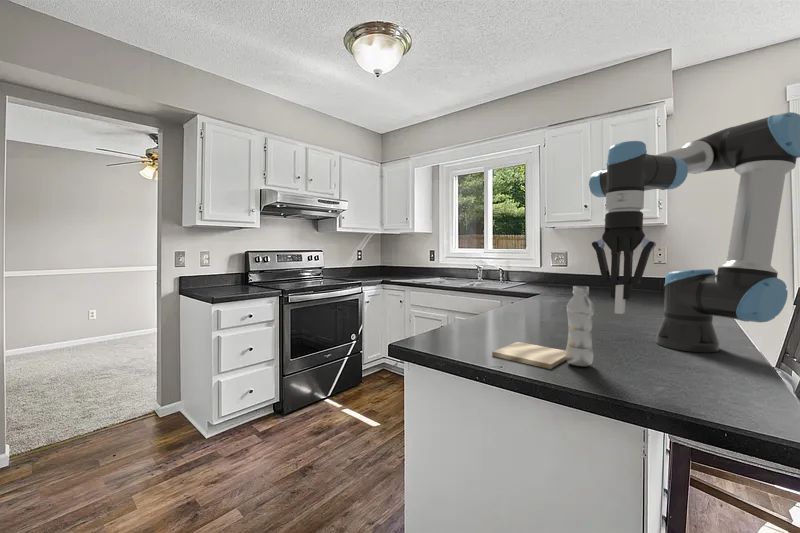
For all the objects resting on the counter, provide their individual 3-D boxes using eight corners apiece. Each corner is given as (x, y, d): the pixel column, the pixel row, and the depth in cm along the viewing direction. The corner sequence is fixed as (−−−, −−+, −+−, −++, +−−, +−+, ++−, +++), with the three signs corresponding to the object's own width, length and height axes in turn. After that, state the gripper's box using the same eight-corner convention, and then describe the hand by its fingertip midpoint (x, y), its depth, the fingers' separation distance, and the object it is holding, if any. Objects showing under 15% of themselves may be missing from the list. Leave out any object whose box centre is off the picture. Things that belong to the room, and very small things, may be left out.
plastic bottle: (592, 363, 95) (594, 286, 94) (594, 371, 89) (596, 288, 88) (565, 360, 98) (566, 284, 97) (564, 367, 92) (566, 287, 91)
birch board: (572, 356, 102) (572, 351, 101) (550, 369, 91) (550, 364, 91) (517, 345, 113) (517, 341, 113) (492, 355, 102) (492, 351, 102)
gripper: (588, 211, 87) (584, 311, 88) (654, 208, 78) (649, 318, 79) (598, 214, 93) (594, 307, 94) (661, 211, 84) (656, 314, 85)
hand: (619, 312), depth 87 cm, fingers closed
